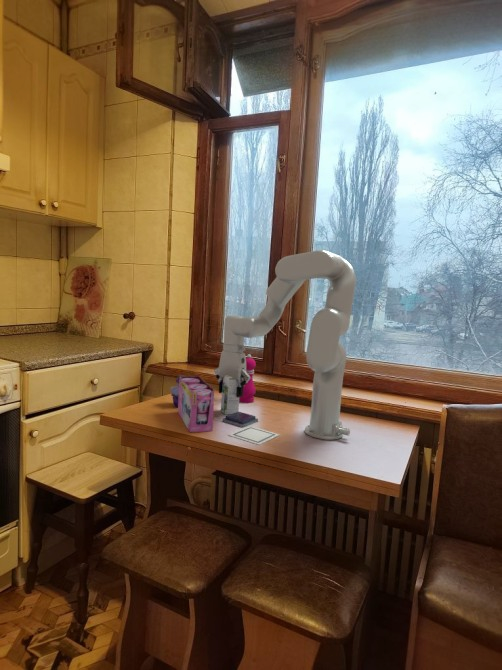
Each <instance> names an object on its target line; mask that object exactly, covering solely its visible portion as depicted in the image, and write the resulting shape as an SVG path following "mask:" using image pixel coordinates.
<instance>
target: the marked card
mask: <svg viewBox="0 0 502 670" xmlns="http://www.w3.org/2000/svg"><path fill="white" fill-rule="evenodd" d="M228 436H229V437H233V438H235V439H237V440H238V439H239V440H242V441H244V442H249V443H251V444H255V445H258V446H260V445H263V444H265V443H267V442H269V441H271V440H273V439H275V438H278V437H279V436H280V434H279V433H275V432H272V431H268V430H266V429H262V428H259V427H255V426H251V425H248V426H246V427H242V428H241V429H238V430H236V431H233V432H231V433H229V434H228Z"/></svg>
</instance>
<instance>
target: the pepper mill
mask: <svg viewBox="0 0 502 670" xmlns="http://www.w3.org/2000/svg"><path fill="white" fill-rule="evenodd" d="M256 366H257V364H256V361H255V359H254V358H252V355H251V354H250V353H249V354H247V355H246V372H247V374H248V375H249V376H250V377H251V378H250V380H249V381H248V383H247V384H245V386H244V387H243V396H242V397H239V403H244V404H252V403H254V401H255V397H254V395H255V394H256V386H255V383H254V381H253V375H254V374H255V370H254V369H255V368H256ZM244 379H245V378H244ZM244 379H243V380H244Z"/></svg>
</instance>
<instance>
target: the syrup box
mask: <svg viewBox="0 0 502 670" xmlns="http://www.w3.org/2000/svg"><path fill="white" fill-rule="evenodd" d="M240 378H241V377H240ZM237 387H238V384H237V382H236V380H234V379H232V376H226V375H225V377H223V385H222V393H221V399H220V400H221V401H220V402H221V403H220V411H221V412H222V413H223V415H230V414H233V413H236V412H239V407H240V406H239V405H240V401H239V397H236V392H237Z"/></svg>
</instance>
